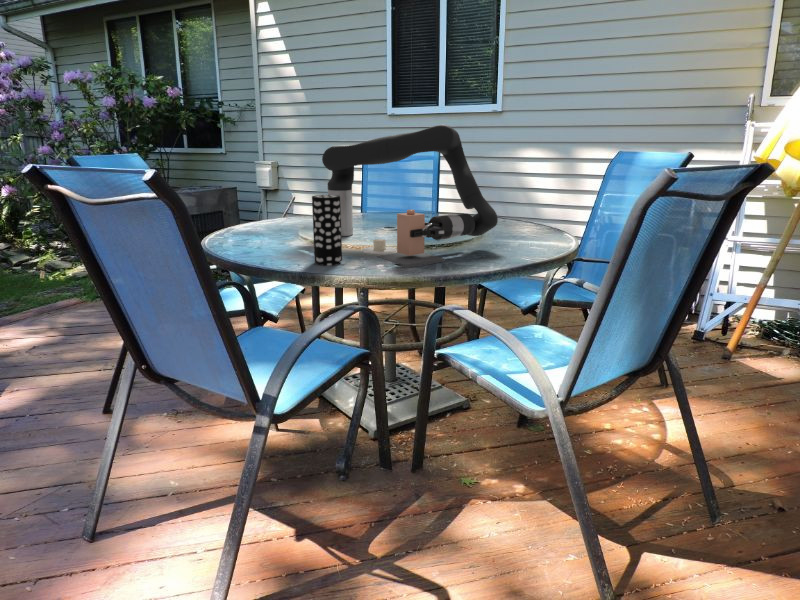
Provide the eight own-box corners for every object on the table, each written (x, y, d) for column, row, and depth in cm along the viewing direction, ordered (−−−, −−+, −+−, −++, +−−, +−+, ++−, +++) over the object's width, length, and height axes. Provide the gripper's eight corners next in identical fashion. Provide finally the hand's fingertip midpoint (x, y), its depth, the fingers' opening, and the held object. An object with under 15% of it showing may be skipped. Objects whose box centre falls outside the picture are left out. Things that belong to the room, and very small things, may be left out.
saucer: (357, 255, 181) (357, 243, 180) (366, 248, 192) (366, 236, 191) (393, 256, 179) (393, 244, 178) (400, 249, 190) (400, 237, 189)
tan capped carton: (397, 252, 174) (397, 209, 170) (412, 250, 178) (412, 208, 174) (408, 255, 170) (408, 211, 166) (424, 253, 173) (424, 210, 169)
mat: (376, 259, 176) (376, 256, 175) (414, 253, 184) (414, 250, 184) (405, 268, 164) (405, 264, 164) (444, 261, 173) (444, 258, 172)
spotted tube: (315, 266, 166) (312, 198, 160) (314, 260, 174) (311, 195, 168) (343, 265, 168) (341, 197, 162) (340, 259, 176) (338, 194, 170)
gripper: (431, 212, 184) (390, 217, 175) (461, 217, 173) (419, 223, 164) (431, 235, 186) (390, 241, 177) (460, 241, 175) (418, 248, 166)
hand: (404, 232), depth 170 cm, fingers closed on tan capped carton, 6 cm apart
